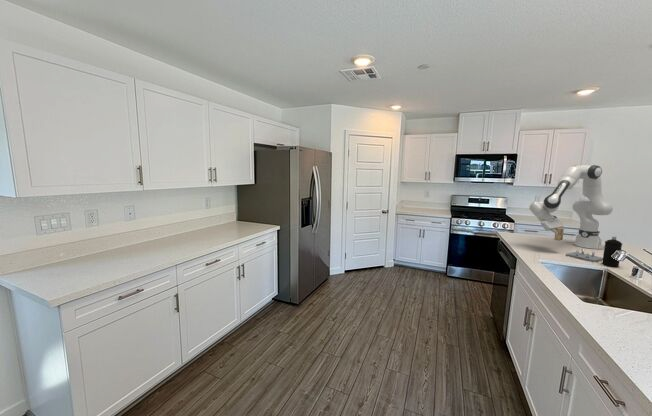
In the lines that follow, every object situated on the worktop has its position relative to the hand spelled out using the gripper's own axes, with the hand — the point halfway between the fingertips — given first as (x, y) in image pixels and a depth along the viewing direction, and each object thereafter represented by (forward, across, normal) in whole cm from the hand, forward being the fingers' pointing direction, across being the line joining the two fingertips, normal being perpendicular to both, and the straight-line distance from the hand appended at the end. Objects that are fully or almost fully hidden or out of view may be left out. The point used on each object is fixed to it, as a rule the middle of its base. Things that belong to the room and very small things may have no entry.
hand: (560, 233), depth 208 cm
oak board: (+3, 0, +4) cm, 5 cm away
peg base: (+22, +4, +1) cm, 22 cm away
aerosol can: (+33, -1, -10) cm, 34 cm away
